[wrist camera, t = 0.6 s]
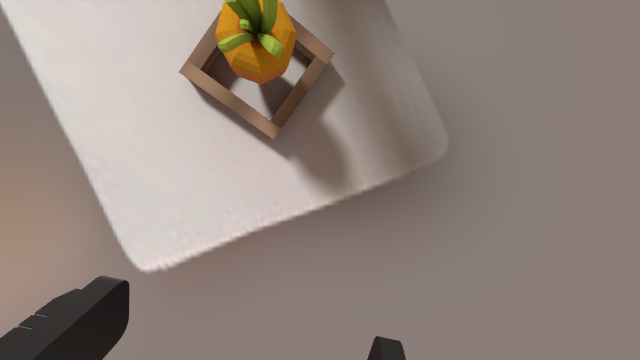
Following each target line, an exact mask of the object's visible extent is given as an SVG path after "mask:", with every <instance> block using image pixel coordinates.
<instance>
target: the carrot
mask: <svg viewBox="0 0 640 360" xmlns="http://www.w3.org/2000/svg"><path fill="white" fill-rule="evenodd" d="M296 38H297V32H296V30H295V28H294V26H293V24H292V22H291V20H290V17H289V15H288V13H287V11H286V9H285V7H284V5H283V3H282V2H280V1H278V0H225V2H224V3H223V7H222V10H221V14H220V18H219V21H218V25H217V29H216V32H215V39H216V41H217V42H218V48H219V49H220V51H221V52H223V54H224V56H225V57H226V59H227V61H228V63H229V65H230V67H231V68H232V70H233V71H234V72H235V73H236V74H237V75H238V76H239V77H242V78H245V79H247V80H250V81H253V82H256V83H258V84H261V85H262V84H265V83H267V82H269V81H271V80H273V79H275V78H277V77H279V76H281V75H283V74H284V72H285V71H286V69H287V67H288V64H289V61H290V58H291V55H292V51H293V48H294V45H295V41H296Z"/></svg>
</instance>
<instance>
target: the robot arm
mask: <svg viewBox="0 0 640 360" xmlns="http://www.w3.org/2000/svg"><path fill="white" fill-rule="evenodd" d="M128 319H129V283H128V281H126V280H121V279H117V278H112V277H107V276H100V277H97V278H96V279H95V280H93V281H92V282H91V283H90V284H88V285H87V286H86V287H84V288H83V289H82V290H80V289H75V290H73V291H70V292H68V293H66V294H63V295H61V296H59V297H57V298H55V299H53V300H52V301H51V302H49V303H47V304H46V305H45V306H43V307H42V308H41V309H39V310H38V311H37V312H35V314H34V316H32V315H31V316H30V317H28V318H27V319H26V320H24V321H23V322H22V323H20V324H19V326H18V327H17V328H13V329H12V330H11V331H9V332H8V333H7V334H6V335H4V336H3V337H1V338H0V360H102V359H103V358H104V357H105V356H106V355H107V354H108V352H109V351H110V350H111V349H112V348H113V347H114V346H115V344H116V343H117V342H118V341H119V340H120V338H121V337H122V335H123V334H124V332H125V330H126V327H127V324H128ZM367 360H406V358H405V355H404V350H403V346H402V344H401V342H400V341H397V340H392V339H387V338H383V337H379V336H376V337H375V339H374V342H373V344H372V347H371V350H370V354H369V356H368V359H367Z"/></svg>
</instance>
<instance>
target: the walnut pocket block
mask: <svg viewBox="0 0 640 360" xmlns="http://www.w3.org/2000/svg"><path fill="white" fill-rule="evenodd" d="M220 14H221V11H220V13H219V14H218V16H217V17H216V19H215V20H214V22H213V23H212V25H211V26H210V27H209V29H208V30H207V32H206V33H205V35H204V36H203V38H202V39H201V41H200V42H199V43H198V45H197V46H196V48H195V49H194V51H193V52H192V54H191V55H190V57H189V58H188V60H187V61H186V62H185V64H184V65H183V67H182V68H181V70H180V71H179V73H181V74H182V75H184V76H185V77H186V78H188V79H189V80H191V81H192V82H193V83H195V84H196V85H198V86H199V87H200V88H202V89H203V90H205V91H206V92H207V93H209V94H210V95H212V96H213V97H214V98H216V99H217V100H219V101H220V102H221V103H223V104H224V105H226V106H227V107H228V108H230V109H231V110H233V111H234V112H235V113H237V114H238V115H240V116H241V117H242V118H244V119H245V120H247V121H248V122H249V123H251V124H252V125H254V126H255V127H256V128H258V129H259V130H261V131H262V132H263V133H265V134H266V135H268V136H269V137H270V138H272V139H273V140H274V139H275V137H276V136H277V134H278V133H279V131H280V130H281V129H282V127H283V126H284V124H285V123H286V122H287V120H288V119H289V117H290V116H291V115H292V113H293V112H294V110H295V109H296V107H297V106H298V105H299V103H300V102H301V100H302V99H303V98H304V96H305V95H306V93H307V92H308V91H309V89H310V88H311V86H312V85H313V84H314V82H315V81H316V79H317V78H318V76H319V75H320V74H321V72H322V71H323V69H324V68H325V67H326V65H327V64H328V62H329V61H330V60H331V58H332V57H333V55H334V54H335V53H334V52H333V51H331V50H330V49H329V48H328V47H327V46H325V45H324V44H323V43H322V42H321V41H320V40H318V39H317V38H316V37H315V36H314V35H313V34H311V33H310V32H309V31H308V30H307V29H305V28H304V27H303V26H302V25H301V24H300V23H298V22H297V21H296V20H295V19H294V18H293V17H291V16H290V15H289V14H288V15H289V17H290V20H291V22H292V24H293V26H294V28H295V30H296V32H297V38H296V41H295V45H294V47H295V48H296V49H297V50H298V51H299V52H301V53H302V54H303V55H304V56H306V57H307V58H308V59H309V60H310V61H312V62H311V64H310V65H309V67H308V68H307V69H306V71H305V72H304V74H303V75H302V76H301V78H300V79H299V81H298V82H297V84H296V85H295V86H294V88H293V89H292V91H291V92H290V93H289V95H288V96H287V98H286V99H285V101H284V102H283V103H282V105H281V106H280V108H279V109H278V110H277V112H276V113H275V115H274V116H273V118H272V119H271V120H268V119H267V118H266V117H264V116H263V115H262V114H260V113H259V112H257V111H256V110H255V109H253V108H252V107H251V106H249V105H248V104H247V103H245V102H244V101H242V100H241V99H240V98H238V97H237V96H236V95H234V94H233V93H231V92H230V91H229V90H227V89H226V88H225V87H223V86H222V85H221V84H219V83H218V82H216V81H215V80H214V79H212V78H211V77H210V76H208V75H207V73H208V71H209V70H210V68H211V67H212V65H213V64H214V63H215V61H216V60H217V58H218V57H219V55H220V54H221V51H220V49H219V48H218V42H217V41H216V39H215V32H216V29H217V25H218V21H219V18H220Z"/></svg>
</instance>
